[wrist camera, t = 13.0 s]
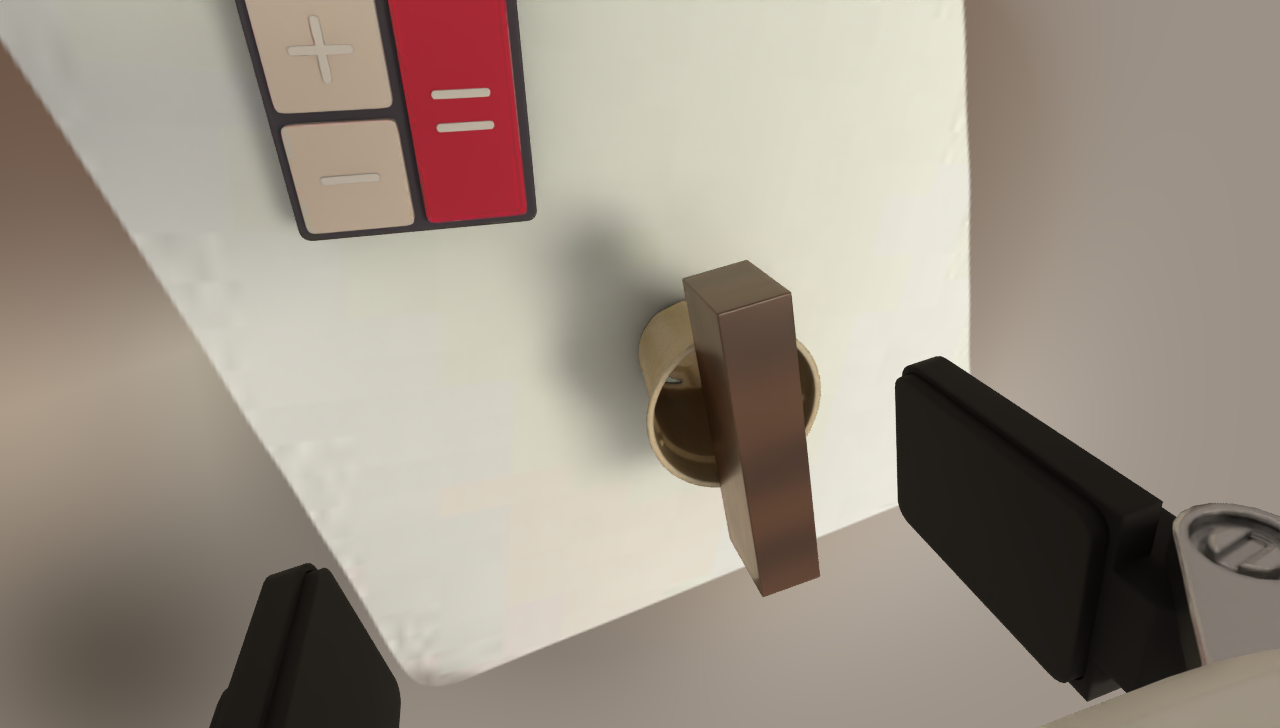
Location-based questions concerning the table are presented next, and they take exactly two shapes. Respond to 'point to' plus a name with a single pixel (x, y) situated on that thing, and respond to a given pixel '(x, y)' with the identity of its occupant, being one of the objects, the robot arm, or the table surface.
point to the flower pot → (693, 397)
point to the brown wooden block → (756, 420)
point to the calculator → (394, 112)
